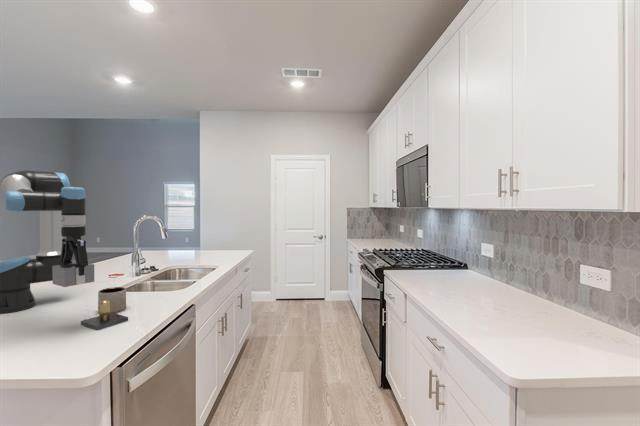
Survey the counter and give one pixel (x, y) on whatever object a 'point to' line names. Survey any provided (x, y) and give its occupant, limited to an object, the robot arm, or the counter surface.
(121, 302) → the planter
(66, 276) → the collar
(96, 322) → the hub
